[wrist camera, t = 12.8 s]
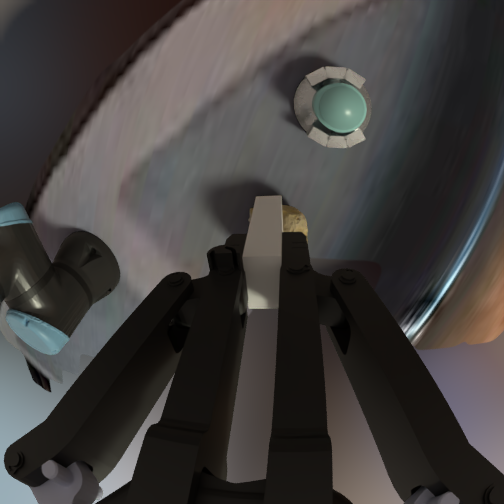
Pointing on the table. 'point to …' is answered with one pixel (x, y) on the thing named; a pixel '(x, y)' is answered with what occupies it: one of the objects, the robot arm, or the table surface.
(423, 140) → the table surface
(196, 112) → the table surface
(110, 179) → the table surface
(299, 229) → the coral
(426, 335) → the table surface
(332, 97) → the teal rounded cylinder
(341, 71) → the grey ring-shaped piece
